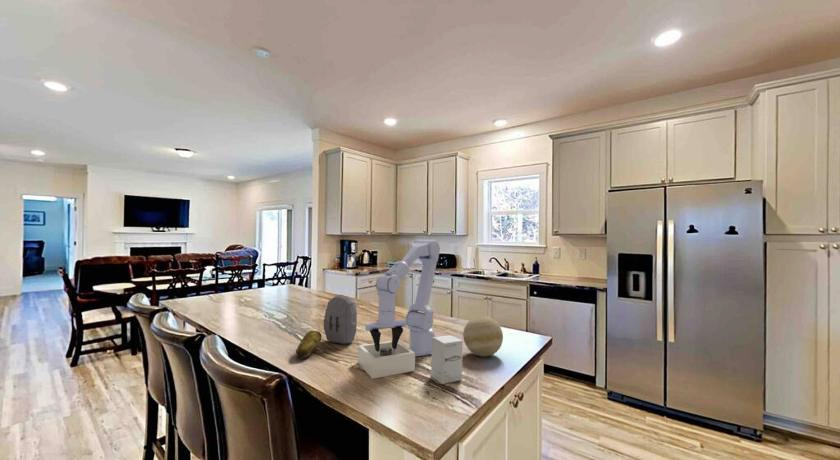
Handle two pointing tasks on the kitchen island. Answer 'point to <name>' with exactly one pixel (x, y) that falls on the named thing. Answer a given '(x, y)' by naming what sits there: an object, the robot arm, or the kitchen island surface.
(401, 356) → the white square storage bin
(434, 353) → the supplement box
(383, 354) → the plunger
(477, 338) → the decorative ball
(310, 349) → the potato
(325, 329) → the small grey backpack
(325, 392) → the kitchen island surface
